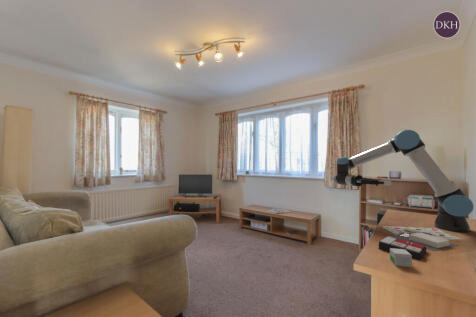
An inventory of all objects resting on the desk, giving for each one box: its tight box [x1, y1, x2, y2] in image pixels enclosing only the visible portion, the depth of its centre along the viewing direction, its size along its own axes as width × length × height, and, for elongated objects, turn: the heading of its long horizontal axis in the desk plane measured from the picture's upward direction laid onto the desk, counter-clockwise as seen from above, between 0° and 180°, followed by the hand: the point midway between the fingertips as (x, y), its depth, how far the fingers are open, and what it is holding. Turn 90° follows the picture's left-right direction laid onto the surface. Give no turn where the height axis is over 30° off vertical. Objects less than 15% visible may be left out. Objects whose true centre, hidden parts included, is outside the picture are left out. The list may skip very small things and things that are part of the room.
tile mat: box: [388, 232, 459, 252], centre depth 108 cm, size 18×20×1 cm
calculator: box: [378, 235, 427, 261], centre depth 97 cm, size 11×4×15 cm
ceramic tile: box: [409, 232, 451, 248], centre depth 106 cm, size 9×3×12 cm
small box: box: [389, 248, 413, 268], centre depth 85 cm, size 6×6×5 cm
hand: (390, 183), depth 123 cm, fingers closed
